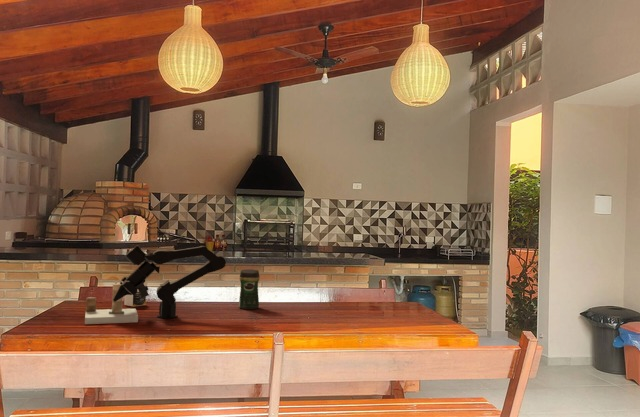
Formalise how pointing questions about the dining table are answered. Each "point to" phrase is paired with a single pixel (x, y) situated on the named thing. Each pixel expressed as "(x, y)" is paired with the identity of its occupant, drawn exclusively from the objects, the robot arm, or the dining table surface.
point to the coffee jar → (249, 289)
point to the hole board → (111, 316)
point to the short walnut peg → (91, 304)
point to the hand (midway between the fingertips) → (113, 300)
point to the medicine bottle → (134, 300)
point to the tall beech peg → (117, 304)
